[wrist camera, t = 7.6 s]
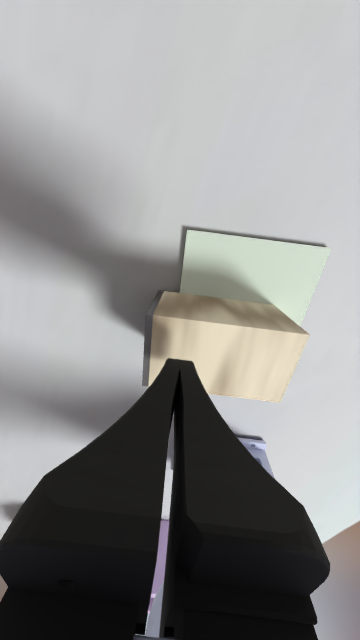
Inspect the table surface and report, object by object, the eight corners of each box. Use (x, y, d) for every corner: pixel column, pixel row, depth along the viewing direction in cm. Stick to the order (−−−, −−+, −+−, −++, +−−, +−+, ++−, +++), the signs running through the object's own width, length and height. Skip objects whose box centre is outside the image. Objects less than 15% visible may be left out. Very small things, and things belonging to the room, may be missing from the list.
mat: (327, 247, 14) (331, 248, 14) (268, 396, 19) (270, 399, 19) (187, 229, 14) (187, 229, 13) (168, 384, 19) (168, 387, 19)
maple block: (159, 290, 15) (273, 304, 15) (154, 345, 17) (256, 358, 17) (145, 314, 11) (309, 334, 11) (142, 385, 13) (280, 402, 13)
